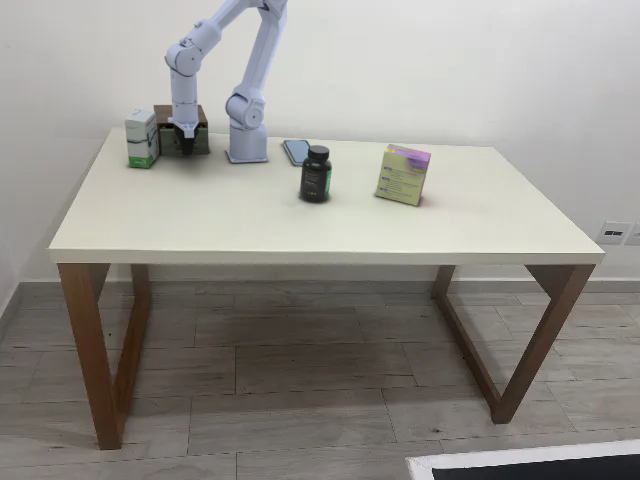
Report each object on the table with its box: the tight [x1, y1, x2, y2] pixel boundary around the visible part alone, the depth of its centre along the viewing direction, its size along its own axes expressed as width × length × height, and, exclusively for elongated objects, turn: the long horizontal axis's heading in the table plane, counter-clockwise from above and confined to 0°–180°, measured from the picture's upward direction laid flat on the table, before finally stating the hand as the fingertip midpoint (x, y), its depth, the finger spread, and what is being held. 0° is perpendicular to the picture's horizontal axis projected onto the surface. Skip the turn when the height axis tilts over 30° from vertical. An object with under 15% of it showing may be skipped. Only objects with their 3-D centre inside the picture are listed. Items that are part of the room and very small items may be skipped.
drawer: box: [160, 125, 209, 157], centre depth 129 cm, size 17×11×7 cm
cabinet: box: [153, 104, 210, 156], centre depth 133 cm, size 14×13×9 cm
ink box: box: [124, 108, 159, 169], centre depth 121 cm, size 9×5×12 cm, turn 179°
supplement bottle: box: [299, 144, 333, 204], centre depth 114 cm, size 7×7×12 cm
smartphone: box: [282, 139, 311, 167], centre depth 137 cm, size 7×1×15 cm
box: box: [375, 143, 432, 207], centre depth 119 cm, size 10×6×12 cm, turn 71°
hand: (187, 154), depth 122 cm, fingers closed
